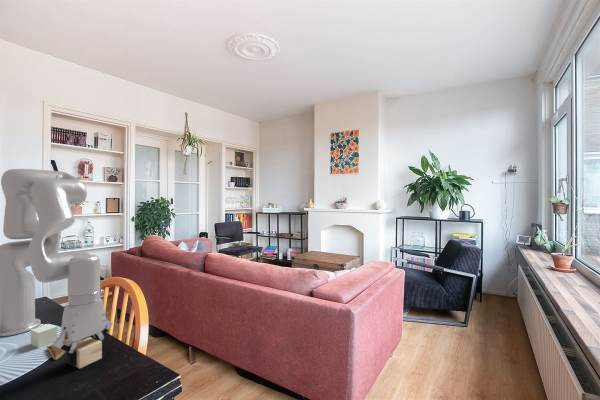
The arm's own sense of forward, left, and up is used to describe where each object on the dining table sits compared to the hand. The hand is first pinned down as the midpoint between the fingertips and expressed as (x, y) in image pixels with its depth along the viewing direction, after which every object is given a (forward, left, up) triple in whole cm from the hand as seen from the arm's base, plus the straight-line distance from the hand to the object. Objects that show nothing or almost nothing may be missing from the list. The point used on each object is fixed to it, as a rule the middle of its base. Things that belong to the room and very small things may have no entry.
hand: (85, 358), depth 86 cm
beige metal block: (0, 0, -1) cm, 1 cm away
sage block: (-23, 0, -1) cm, 23 cm away
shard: (-13, +1, -1) cm, 13 cm away
